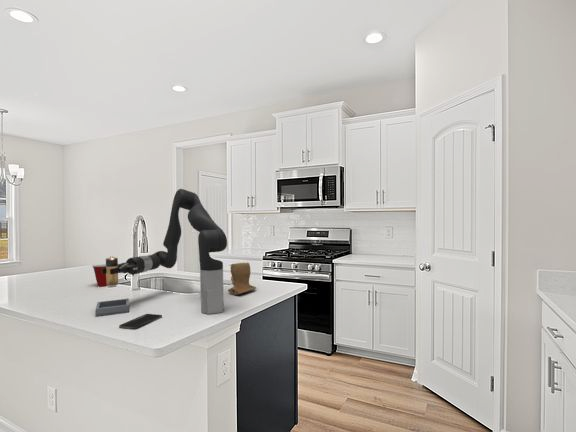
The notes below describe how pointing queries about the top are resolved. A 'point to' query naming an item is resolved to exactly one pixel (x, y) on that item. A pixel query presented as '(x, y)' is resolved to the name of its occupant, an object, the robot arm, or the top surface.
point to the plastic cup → (100, 275)
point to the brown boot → (240, 278)
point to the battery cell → (110, 264)
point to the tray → (112, 307)
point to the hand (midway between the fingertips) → (106, 271)
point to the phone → (140, 321)
